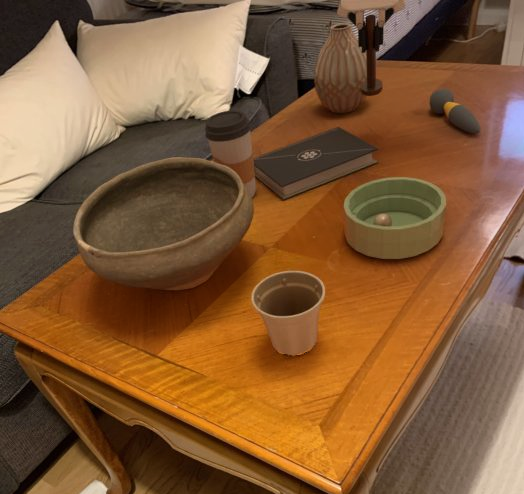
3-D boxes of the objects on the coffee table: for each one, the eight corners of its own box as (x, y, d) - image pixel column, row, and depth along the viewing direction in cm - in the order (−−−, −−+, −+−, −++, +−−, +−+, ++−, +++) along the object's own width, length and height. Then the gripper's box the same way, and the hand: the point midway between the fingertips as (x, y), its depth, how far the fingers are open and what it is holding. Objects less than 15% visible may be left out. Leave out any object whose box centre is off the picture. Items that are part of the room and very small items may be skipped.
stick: (387, 88, 105) (388, 15, 93) (369, 98, 104) (368, 26, 92) (373, 80, 107) (372, 7, 95) (356, 90, 106) (353, 18, 94)
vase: (307, 117, 125) (299, 35, 112) (331, 95, 132) (327, 16, 120) (357, 121, 119) (355, 35, 106) (380, 98, 126) (380, 16, 114)
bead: (367, 226, 86) (381, 235, 87) (374, 227, 83) (389, 236, 84) (376, 210, 85) (390, 218, 86) (383, 210, 83) (398, 219, 84)
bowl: (169, 216, 101) (147, 146, 91) (293, 241, 89) (283, 163, 79) (67, 304, 86) (27, 231, 76) (200, 349, 73) (173, 269, 63)
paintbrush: (494, 132, 105) (498, 107, 102) (472, 139, 104) (476, 114, 101) (438, 103, 119) (440, 80, 115) (419, 109, 118) (420, 86, 115)
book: (338, 139, 114) (337, 126, 111) (378, 163, 104) (378, 148, 101) (250, 172, 109) (248, 159, 107) (283, 200, 99) (281, 186, 97)
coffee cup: (269, 193, 102) (257, 115, 91) (234, 210, 99) (218, 133, 88) (246, 180, 107) (232, 105, 96) (212, 196, 104) (194, 121, 94)
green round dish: (441, 207, 89) (445, 175, 85) (443, 262, 79) (447, 228, 74) (350, 209, 93) (349, 178, 89) (340, 261, 83) (338, 229, 78)
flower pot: (289, 309, 76) (282, 262, 70) (342, 333, 71) (340, 284, 65) (247, 348, 72) (236, 300, 66) (300, 376, 67) (293, 327, 61)
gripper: (320, -62, 85) (326, 60, 98) (420, -77, 81) (413, 53, 94) (326, -70, 90) (331, 47, 103) (421, -85, 86) (414, 39, 99)
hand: (370, 49), depth 98 cm, fingers closed on stick
